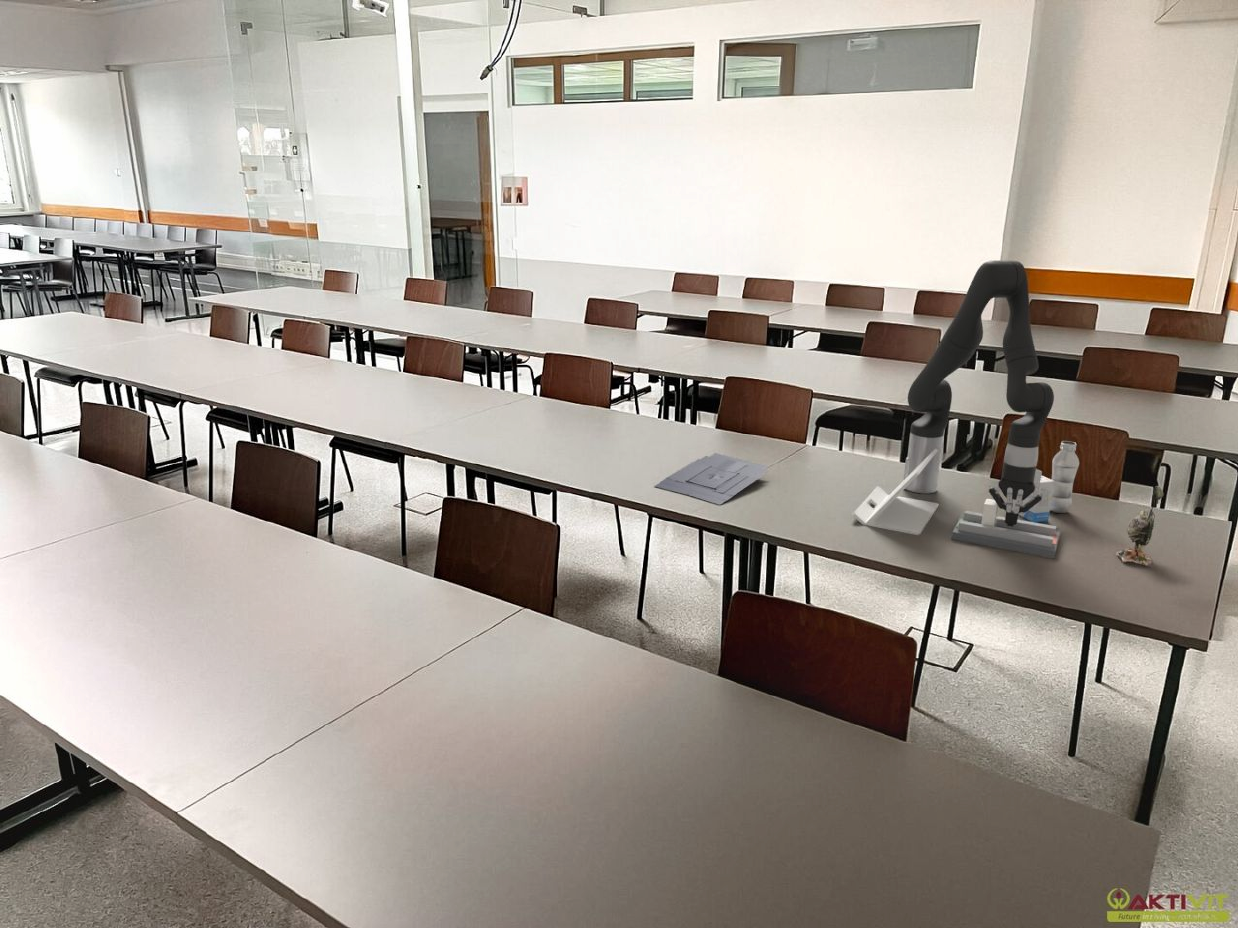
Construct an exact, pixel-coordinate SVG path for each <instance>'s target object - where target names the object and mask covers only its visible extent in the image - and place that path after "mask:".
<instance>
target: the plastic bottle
mask: <svg viewBox="0 0 1238 928" xmlns="http://www.w3.org/2000/svg"><path fill="white" fill-rule="evenodd" d="M1059 449H1060V450H1059V451H1058V452H1057V453H1056V454H1055V455H1054V457H1053V458H1052V461H1051V462H1052V469H1051V471H1052V472H1051V473H1052V474H1051V478H1050V479H1051V480H1053V481H1055V482H1054V488H1053V494H1052V500H1051V506H1050V512H1053V513H1058V514H1065V513H1066V514H1067V513H1068V512H1069V511H1071V507H1072V506H1073V497H1072V496H1073V486H1074V481H1075V477H1076V476H1077V475H1076V474H1077V471H1078V469H1079V467H1080V466H1079V465H1080V460H1079V457H1078V455H1077V454H1076V451H1077V443H1076V442H1074V441H1070V440H1069V441H1068V440H1062V441H1061V443H1060V446H1059Z"/></svg>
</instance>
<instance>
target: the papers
mask: <svg viewBox="0 0 1238 928" xmlns="http://www.w3.org/2000/svg"><path fill="white" fill-rule="evenodd" d="M768 468H771V466H770V465H766V464H762V463H757V462H753V461H749V460H745V459H740V458H738V457H737V458H736V457H732V456H728V455H725V454H720V453H712V455H710V456H708V455H705V456H703V457H702V458H698V459H696V460H694V461H693V462H692V461H691V462H690V463H689V464H687V465H686V466H684V467H682V468H680V469H679V470H676V472H674V473H672V474H670V475H668V476H667V477H665V478H664V479H662V480H661V481H660V482H659V483H656V485H654V487H655V488H659V489H663V490H667V491H672V492H675V493H680V494H682V495H687V496H690V497H694V498H697V499H700V500H703V501H707V502H710V503H713V504H715V505H720V506H721V505H722V504H723V503H725V502H727V501H729V500H730V499H731V498H733V497H734V496H735V495H737V494H739V492H741V491H742V490H744V489H745V488H747V487H748V486H750V485H751V484H753V483H754V482H756V481H759V480H760V478H762V477H763V476H764V475H765V474H766V473H767V472H768Z"/></svg>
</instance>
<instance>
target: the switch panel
mask: <svg viewBox="0 0 1238 928" xmlns="http://www.w3.org/2000/svg"><path fill="white" fill-rule="evenodd" d="M982 516H983V512H976V511H971V510H965V511H964V513H963V514H961V516H960V517H959V519H958V521H957V523H956V525H955V527H954V529H953V530H952V532H951V533H952V534H951V540H954V541H955V540H956V541H960V542H966V543H970V544H975V545H982V546H987V547H990V548H991V547H992V548H995V549H996V548H997V549H1002V550H1007V551H1012V552H1018V553H1022V554H1023V553H1024V554H1028V555H1034V556H1041V557H1043V558H1049V559H1055V557H1056V552H1057V549H1058V546H1059V545H1058V544H1059V539H1060V534H1061V531H1059V530H1057V526H1056V525H1051V524H1045V523H1041V522H1037V523H1034V522H1031V521H1029V520H1023V519H1018V520H1017V524H1016V525H1014V526H1013V527H1012V526H1007V523H1005V517H1004V516H998V515H997V518H996V525H995V526H989V525H983V524H981V523H982Z"/></svg>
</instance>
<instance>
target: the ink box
mask: <svg viewBox="0 0 1238 928" xmlns="http://www.w3.org/2000/svg"><path fill="white" fill-rule="evenodd" d="M1042 474H1043V471H1042V470H1040V469H1037V468H1036V472H1035V478H1034V485H1035V490H1036V491H1037V492H1038V493H1041V494H1042V495H1043V496H1042V499H1041V501H1039V502H1038V503H1037V504H1036V505H1034V506H1033V507H1032V508H1030V509H1029V510H1028V511H1027V512H1025V513H1023V512H1020V513H1019V514H1018V516H1020V517H1021V518H1023V519H1026V521H1028V522H1034V523H1043V522H1049V518H1050V512H1051V511H1050V506H1051V500H1052V494H1053V488H1054V482H1055V481H1053V480H1051V479H1052V478H1048V477H1046V476H1044V475H1042ZM1032 495H1033V494H1030V495H1029V496H1028V497H1027V498H1026V499H1025V500H1022V502H1021V506H1024V505H1025V504H1026V503H1027V502H1029V501H1030V500H1031V496H1032ZM1015 502H1016V500H1015V501H1014V503H1015ZM1014 507H1015V505H1013V508H1014Z"/></svg>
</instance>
